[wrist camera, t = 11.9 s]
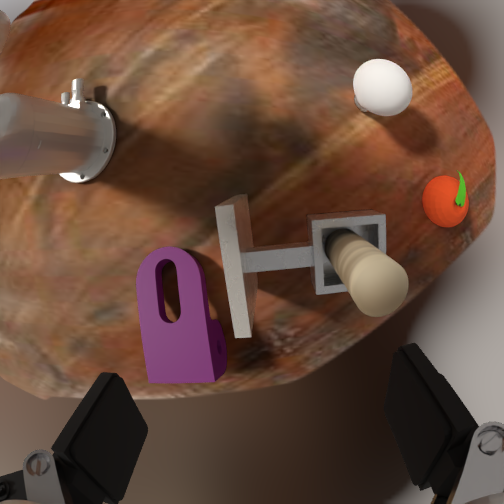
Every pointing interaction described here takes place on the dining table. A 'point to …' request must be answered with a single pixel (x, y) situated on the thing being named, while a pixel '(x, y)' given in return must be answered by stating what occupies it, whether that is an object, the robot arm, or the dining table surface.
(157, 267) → the mounting bracket
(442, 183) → the clementine
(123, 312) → the dining table surface
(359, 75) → the light bulb
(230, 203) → the cup bracket
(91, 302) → the dining table surface
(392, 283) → the maple peg
